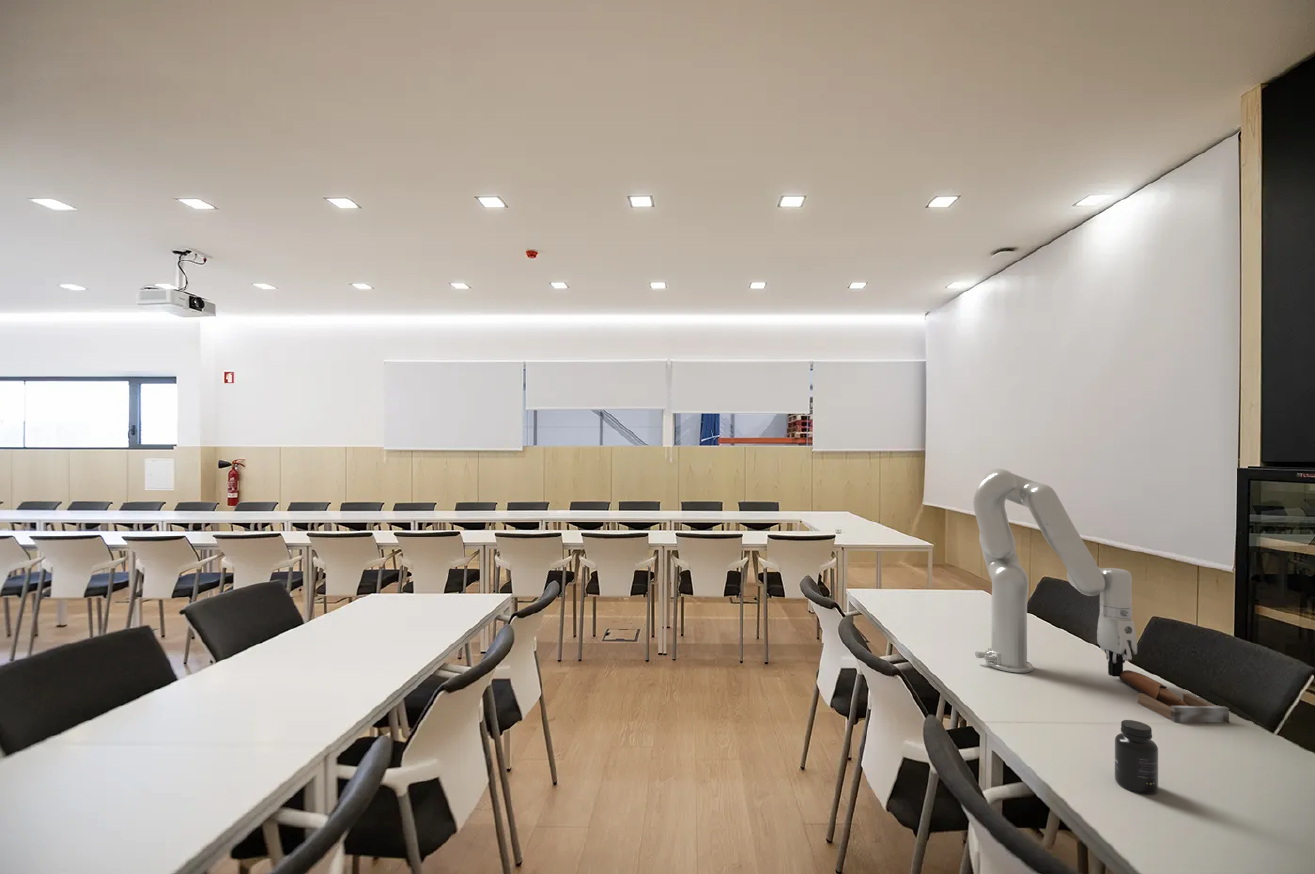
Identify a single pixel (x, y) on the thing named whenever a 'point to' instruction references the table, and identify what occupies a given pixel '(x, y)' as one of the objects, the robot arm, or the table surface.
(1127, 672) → the sunglasses case
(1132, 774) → the supplement bottle
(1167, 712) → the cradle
